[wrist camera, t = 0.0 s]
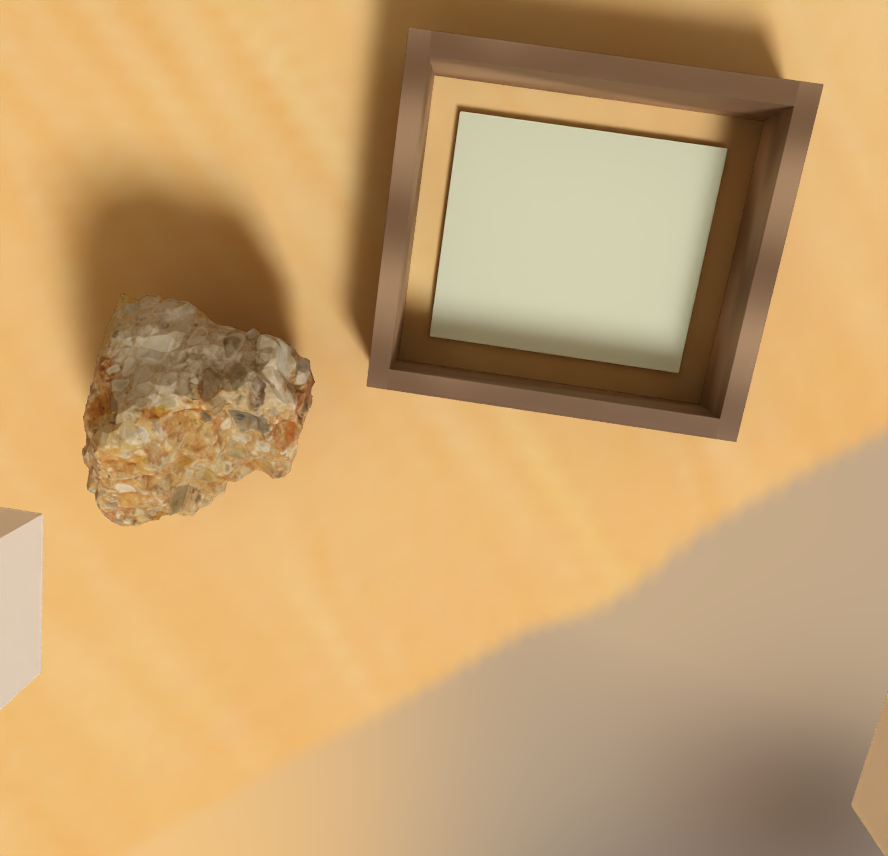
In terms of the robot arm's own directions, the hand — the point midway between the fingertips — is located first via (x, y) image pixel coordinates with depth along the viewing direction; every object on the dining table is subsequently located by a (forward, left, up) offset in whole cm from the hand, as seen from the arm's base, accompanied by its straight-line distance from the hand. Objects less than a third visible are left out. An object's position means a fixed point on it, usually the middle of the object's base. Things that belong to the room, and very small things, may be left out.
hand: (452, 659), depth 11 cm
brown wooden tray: (-7, +4, -28) cm, 29 cm away
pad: (-7, +4, -28) cm, 29 cm away
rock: (+4, -13, -28) cm, 31 cm away
